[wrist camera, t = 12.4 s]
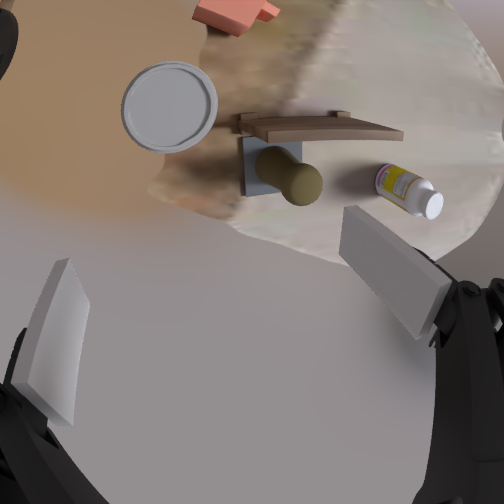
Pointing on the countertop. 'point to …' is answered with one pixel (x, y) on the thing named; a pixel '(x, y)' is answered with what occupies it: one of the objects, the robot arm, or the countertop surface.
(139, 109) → the disposable coffee cup
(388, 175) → the supplement bottle
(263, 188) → the coaster
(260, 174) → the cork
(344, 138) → the screen
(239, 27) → the pink cube teapot
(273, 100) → the countertop surface
